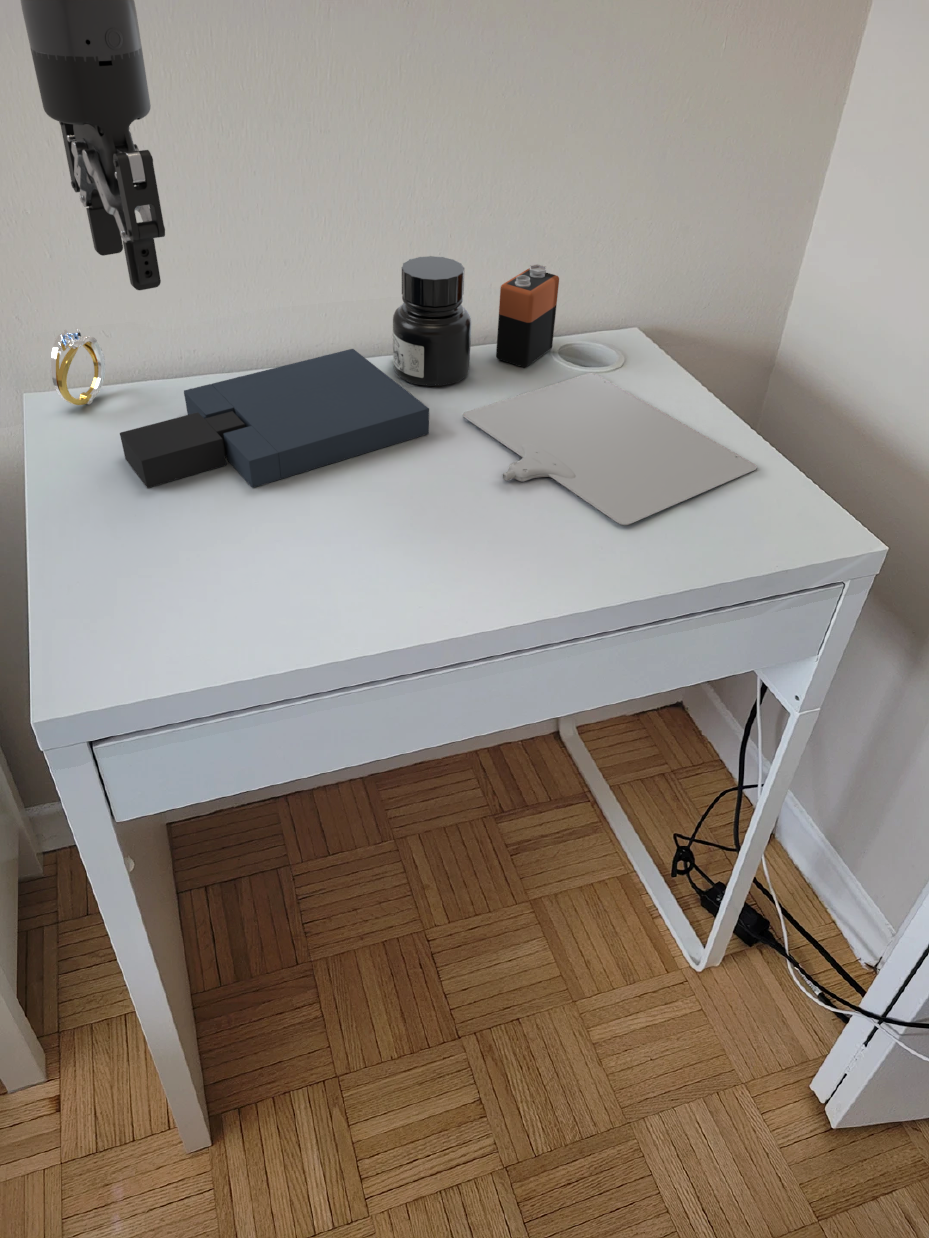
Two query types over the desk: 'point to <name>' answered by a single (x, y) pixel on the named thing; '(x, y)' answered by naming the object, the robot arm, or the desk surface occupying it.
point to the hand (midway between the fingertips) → (127, 269)
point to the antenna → (607, 447)
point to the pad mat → (310, 415)
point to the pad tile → (178, 446)
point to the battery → (527, 316)
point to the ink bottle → (432, 323)
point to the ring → (61, 371)
